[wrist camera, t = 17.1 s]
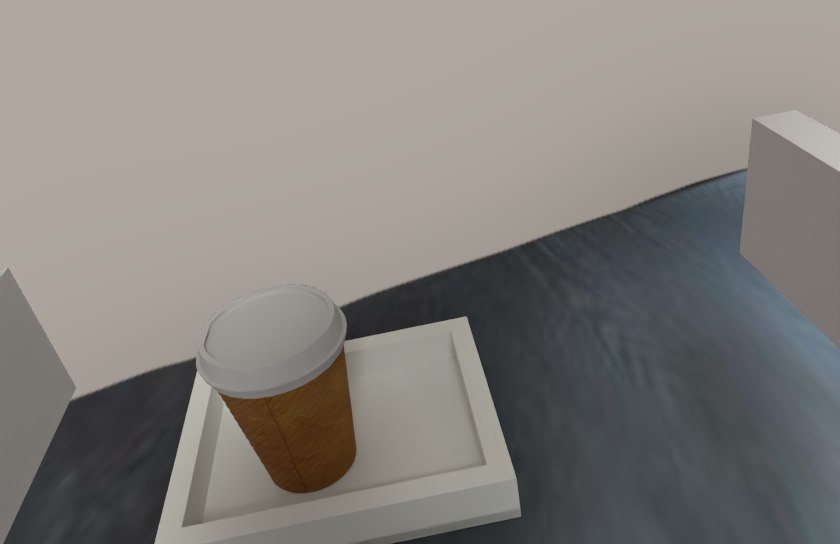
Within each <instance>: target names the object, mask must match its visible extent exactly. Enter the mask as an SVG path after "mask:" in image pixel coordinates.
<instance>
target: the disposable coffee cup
mask: <svg viewBox="0 0 840 544" xmlns="http://www.w3.org/2000/svg"><path fill="white" fill-rule="evenodd" d="M346 331H347V323H346V319H345V315H344V314H343V312H342V311H341V309H340V308H339V307H338V306H336V305H335V304H334V303H333V301H332V300H331V298H330V297H329V296H328V295H327V294H326V293H325V292H323V291H321V290H320V289H317V288H315V287H311V286H307V285H296V284H287V285H278V286H272V287H268V288H263V289H260V290H256V291H253V292H251V293H248V294H246V295H244V296H241V297H239V298H237V299H235V300H233V301H231V302H230V303H228V304H227V305H225V306H223V307H222V308H221V309H219V310H218V311H217V312H215V313H214V315H213V316H212V317H211V318H210V319H209V320H208V321H207V323H205V325H204V326H203V327H202V329H201V332H200V333H199V336H198V341H197V345H198V353H197V358H196V367H197V370H198V372H199V374H200V376H201V377H202V378H203V379H204V381H205V382H206V383H207V384H209V385H210V386H212V388H213V389H215V390H216V391H217V392H218V393H219V395H220V396H221V398H222V400H223V401H224V402H225V403H226V404H225V405H226V406H227V408H228V409H230V413H231V414H232V415H233V416H234V419H235V420H236V422H238V426H239V427H240V428H241V429H242V432H243V433H244V434H245V435H246V436H245V437H246V438H247V440H248V441H250V442H249V443H250V445H251V446H252V447H253V449H254V451H255V452H256V453H257V456H258V457H259V459H261V460H260V461H261V462H262V464H263V465H264V467H265V469H266V470H267V472H268V473H269V475H270V476H271V479H272V480H273V482H274V483H275V484H276V485H277V486H278V487H279V488H281V489H283V490H286V491H288V492H292V493H309V492H315V491H318V490H322V489H324V488H326V487H328V486H331V485H332V484H334V483H335V482H337V481H338V480H339V479H341V478H342V477H343V476H344V475H345V474H346V473H347V471H348V470H349V469H350V468H351V466H352V464H353V463H354V460H355V456H356V441H355V433H354V425H353V417H352V407H351V399H350V392H349V383H348V376H347V367H346V360H345V351H344V342H345V337H346Z"/></svg>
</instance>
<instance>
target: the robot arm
mask: <svg viewBox="0 0 840 544" xmlns="http://www.w3.org/2000/svg"><path fill="white" fill-rule="evenodd" d="M739 253H740V254H741V255H742V256H743V257H744V258H745V259H746V260H748V261H749V262H750V263H751V264H752V265H753V266H754V267H755V268H756V269H757V270H758V271H759V272H760V273H761V274H762V275H763V276H764V277H765V278H766V279H767V280H768V281H769V282H771V283H772V284H773V285H774V286H775V287H776V288H777V289H778V290H779V291H780V292H781V293H782V294H783V295H784V296H785V297H786V298H787V299H788V300H789V301H790V302H791V303H793V304H794V305H795V306H796V307H797V308H798V309H799V310H800V311H801V312H802V313H803V314H804V315H805V316H806V317H807V318H808V319H809V320H810V321H811V322H812V323H813V324H814V325H816V326H817V327H818V328H819V329H820V330H821V331H822V332H823V333H824V334H825V335H826V336H827V337H828V338H829V339H830V340H831V341H832V342H833V343H834V344H835V345H836V346H838V347H839V348H840V134H839V133H837V132H835V131H833V130H832V129H830V128H828V127H826V126H824V125H822V124H820V123H819V122H817V121H815V120H813V119H811V118H809V117H807V116H805V115H804V114H802V113H800V112H798V111H796V110H793V111H787V112H783V113H777V114H772V115H767V116H762V117H758V118H753V120H752V130H751V140H750V150H749V160H748V170H747V181H746V191H745V201H744V211H743V222H742V232H741V242H740V252H739ZM75 389H76V387H75V385H74V383H73V381H72V379H71V378H70V376H69V374H68V373H67V371H66V369H65V367H64V365H63V364H62V362H61V361H60V358H59V356H58V355H57V353H56V351H55V349H54V348H53V346H52V344H51V342H50V341H49V339H48V337H47V335H46V333H45V332H44V330H43V329H42V326H41V325H40V323H39V321H38V319H37V318H36V316H35V314H34V312H33V311H32V309H31V307H30V305H29V304H28V302H27V300H26V299H25V296H24V295H23V293H22V291H21V289H20V288H19V286H18V284H17V282H16V280H15V279H14V277H13V275H12V273H11V272H10V270H9V268H8V267H7V268H2V269H0V544H3V542H4V540H5V538H6V536H7V534H8V532H9V530H10V528H11V525H12V523H13V521H14V519H15V517H16V515H17V513H18V510H19V508H20V506H21V504H22V502H23V500H24V498H25V495H26V493H27V491H28V489H29V487H30V485H31V483H32V481H33V478H34V476H35V474H36V472H37V470H38V468H39V466H40V463H41V461H42V459H43V457H44V455H45V453H46V451H47V449H48V446H49V444H50V442H51V440H52V438H53V436H54V434H55V431H56V429H57V427H58V425H59V423H60V421H61V419H62V417H63V414H64V412H65V410H66V408H67V406H68V404H69V402H70V399H71V397H72V395H73V393H74V391H75Z"/></svg>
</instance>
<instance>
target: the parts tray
mask: <svg viewBox="0 0 840 544" xmlns="http://www.w3.org/2000/svg"><path fill="white" fill-rule="evenodd" d="M344 351H345V360H346V367H347V376H348V383H349V392H350V399H351V407H352V417H353V425H354V433H355V441H356V456H355V460H354V463H353V464H352V466H351V468H350V469H349V470H348V471H347V473H346V474H345V475H344V476H343V477H342V478H341V479H339V480H338V481H337V482H335V483H334V484H332V485H331V486H328V487H326V488H324V489H322V490H318V491H315V492H309V493H292V492H288V491H286V490H283V489H281V488H279V487H278V486H277V485H276V484H275V483H274V482H273V480H272V479H271V476H270V475H269V473H268V472H267V470H266V469H265V467H264V465H263V464H262V462H261V461H260V460H261V459H259V457H258V456H257V453H256V452H255V451H254V449H253V447H252V446H251V445H250V443H249V442H250V441H248V440H247V438H246V437H245V436H246V435H245V434H244V433H243V432H242V429H241V428H240V427H239V426H238V422H236V420H235V419H234V416H233V415H232V414H231V413H230V409H228V408H227V406H226V405H225V404H226V403H225V402H224V401H223V400H222V398H221V396H220V395H219V393H218V392H217V391H216V390H215V389H213V388H212V386H210V385H209V384H207V383H206V382H205V381H204V379H203V378H202V377H201V376H200V374H199V372H198V371H197V374H196V378H195V382H194V386H193V390H192V394H191V398H190V402H189V406H188V410H187V415H186V419H185V423H184V427H183V431H182V435H181V439H180V443H179V447H178V451H177V455H176V459H175V463H174V467H173V471H172V475H171V479H170V483H169V487H168V491H167V495H166V499H165V503H164V507H163V511H162V516H161V520H160V524H159V528H158V532H157V536H156V540H155V544H392V543H397V542H402V541H406V540H411V539H416V538H421V537H426V536H430V535H435V534H440V533H445V532H450V531H454V530H459V529H464V528H469V527H473V526H478V525H483V524H488V523H493V522H497V521H502V520H507V519H512V518H517V517H521V510H520V502H519V494H518V487H517V479H516V475H515V472H514V469H513V466H512V462H511V459H510V456H509V453H508V449H507V446H506V443H505V440H504V436H503V433H502V430H501V427H500V423H499V420H498V417H497V414H496V410H495V407H494V404H493V401H492V398H491V394H490V391H489V388H488V385H487V381H486V378H485V375H484V372H483V368H482V365H481V362H480V359H479V355H478V352H477V349H476V346H475V342H474V339H473V336H472V333H471V329H470V326H469V323H468V320H467V316H466V317H461V318H456V319H451V320H446V321H441V322H436V323H431V324H427V325H422V326H417V327H412V328H407V329H402V330H397V331H392V332H387V333H382V334H377V335H372V336H368V337H363V338H358V339H353V340H348V341H345V342H344Z"/></svg>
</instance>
